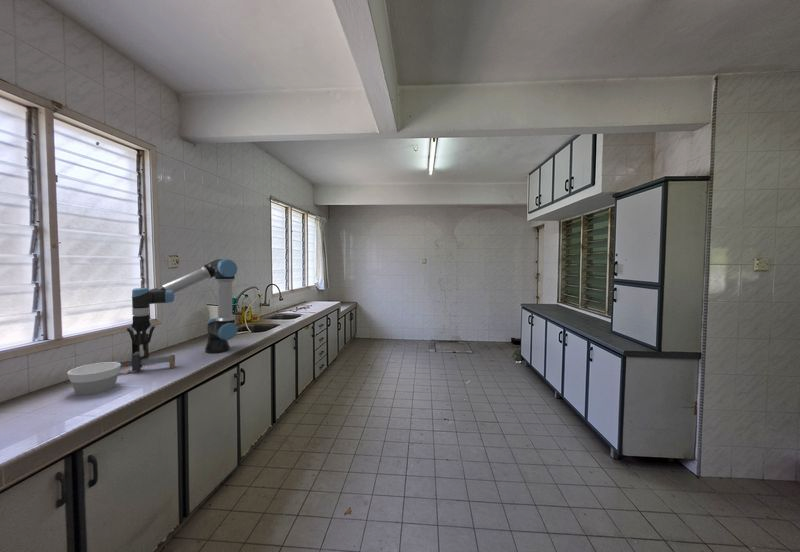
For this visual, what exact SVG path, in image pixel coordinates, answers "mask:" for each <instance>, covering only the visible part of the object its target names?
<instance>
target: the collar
mask: <svg viewBox="0 0 800 552" xmlns="http://www.w3.org/2000/svg"><path fill="white" fill-rule="evenodd" d="M141 358H142V357H140V351H139V352H135V353H134V354H133V355H132V354H131V359H132V366H131V371H132V372H138V371H140V370H141V369H142V368H143V365H140V359H141Z"/></svg>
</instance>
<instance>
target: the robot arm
mask: <svg viewBox="0 0 800 552" xmlns="http://www.w3.org/2000/svg"><path fill="white" fill-rule="evenodd" d="M237 272H238V266H237V263H236V262H235V261H233V260H231V259H227V258H221V259H220V258H218V259H217V258H216V259H214V260H212V261H210V262H208V263H206V264H204V265H202V266H201V267H200V268H199V269H196V270H194V271H192V272H190V273H187V274H185V275H183V276H180V277H177V278H176V279H174V280H171V281H169V282H167V283H165V284H163V285H160V286H158V287H155V288H151V289H149V288H148V287H135V288H133V289H132V292H131V303H132V304H131V305H132V306H131V308H132V310H131V311H132V324H131V326H129V327H128V328H126V331H127V332H128V334H129V335H130V336H129V337H130V339H131V343H132V342H133V344H135V345H137V350H138V351H140V357H142V356H144V350H146V344H147V343H148V344H150V343H151V340H152V337H153V333H154V330H155V328H156V326H155V325H152V324H151V322H150V305H153V304H154V305H155V304H169V303H173V302H174V301H175V294H176V293H178V292H180V291H182V290H184V289H187V288H189V287H191V286H193V285H196V284H197V283H200V282H202V281H204V280H206V279H209V280H210V279H212V278H214V280H216V281H217V317H216V318H209V319H208V320H207V324H206V326H207V342H206V345H205V349H204V352H205V353H206V354H217V353H218V354H219V353H226V352H228V351H229V350H231V349H230V343H229V340H231V339H234V337H235V336H237V334H238V330H239V329H238V326H237V324H236V319H235V317H234V316H233V281H235V278H236V274H237ZM148 329H149V332H148V334H149V335H148V339H147V341H146V333H147V330H148ZM134 331H135V332H136V334H137V341H136V338H135V333H134ZM141 334H142V335H143V344H141Z"/></svg>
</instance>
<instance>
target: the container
mask: <svg viewBox="0 0 800 552" xmlns="http://www.w3.org/2000/svg"><path fill="white" fill-rule="evenodd" d="M134 335H135V338H136V341H137V333H134ZM148 336H149V333H147V332H146V341H147V339H148ZM141 344H143V335H142V333H141ZM149 349H150V348H149V343H147V344H146V350H144V356H142V358H150V352H149ZM135 352H139V351H138V350H137V345H135V344H133V342H132V341H131V356H132V355H133V354H134V353H135Z"/></svg>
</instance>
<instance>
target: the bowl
mask: <svg viewBox="0 0 800 552" xmlns="http://www.w3.org/2000/svg"><path fill="white" fill-rule="evenodd" d="M120 366H121V364H120V363H118V362H110V361H104V362H96V363H95V362H94V363H90V364H89V363H88V364H84V365H81V366H77V367H74V368H72V369H70V370H68V371H67V376H68V379H69V381H70V383H71V386H72V388H73V391H74V392H75V395H78V396H88V395H89V396H91V395H95V394H96V395H97V394H100V393H104V392H107V391H109V390H111V389H113V388H115V387H116V382H117V380H118V377H119V373H120V370H121V367H120Z"/></svg>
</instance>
